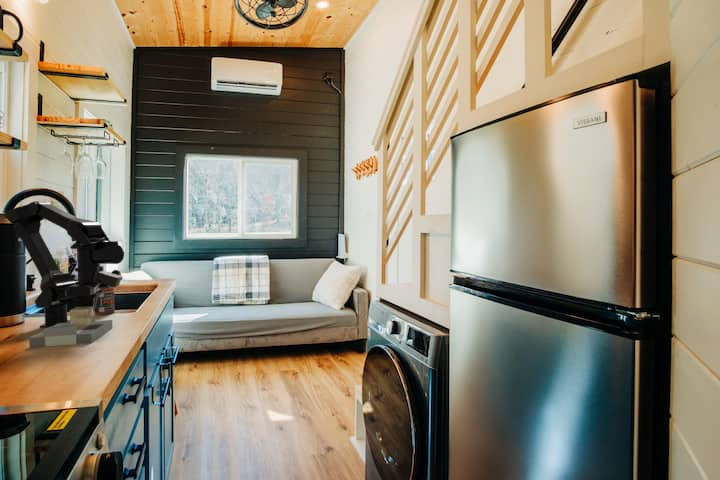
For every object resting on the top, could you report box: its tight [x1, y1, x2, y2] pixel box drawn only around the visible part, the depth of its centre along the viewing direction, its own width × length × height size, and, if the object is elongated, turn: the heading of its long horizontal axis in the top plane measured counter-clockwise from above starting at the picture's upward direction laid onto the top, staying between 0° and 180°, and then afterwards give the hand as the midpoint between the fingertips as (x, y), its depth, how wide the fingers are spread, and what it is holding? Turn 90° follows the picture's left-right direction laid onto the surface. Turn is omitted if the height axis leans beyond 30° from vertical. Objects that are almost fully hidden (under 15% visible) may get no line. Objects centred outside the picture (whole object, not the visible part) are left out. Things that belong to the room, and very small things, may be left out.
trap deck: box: [28, 319, 113, 349], centre depth 116 cm, size 16×14×4 cm
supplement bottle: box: [94, 287, 116, 316], centre depth 147 cm, size 6×6×11 cm
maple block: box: [69, 306, 95, 326], centre depth 122 cm, size 4×4×4 cm
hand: (91, 315), depth 128 cm, fingers closed
